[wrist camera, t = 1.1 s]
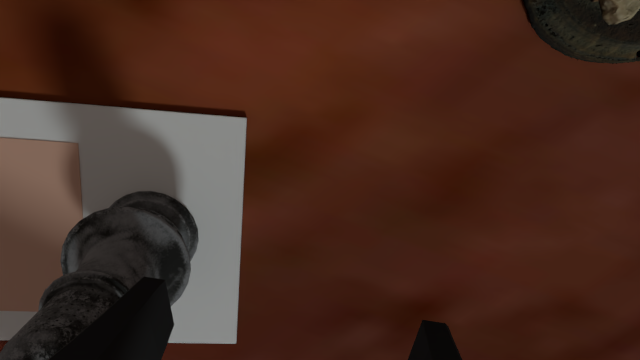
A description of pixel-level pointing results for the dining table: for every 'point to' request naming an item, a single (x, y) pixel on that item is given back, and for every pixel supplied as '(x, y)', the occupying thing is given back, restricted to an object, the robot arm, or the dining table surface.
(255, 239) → the dining table surface
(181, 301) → the mat
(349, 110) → the dining table surface
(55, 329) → the dark grey chess piece
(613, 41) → the rock sculpture
